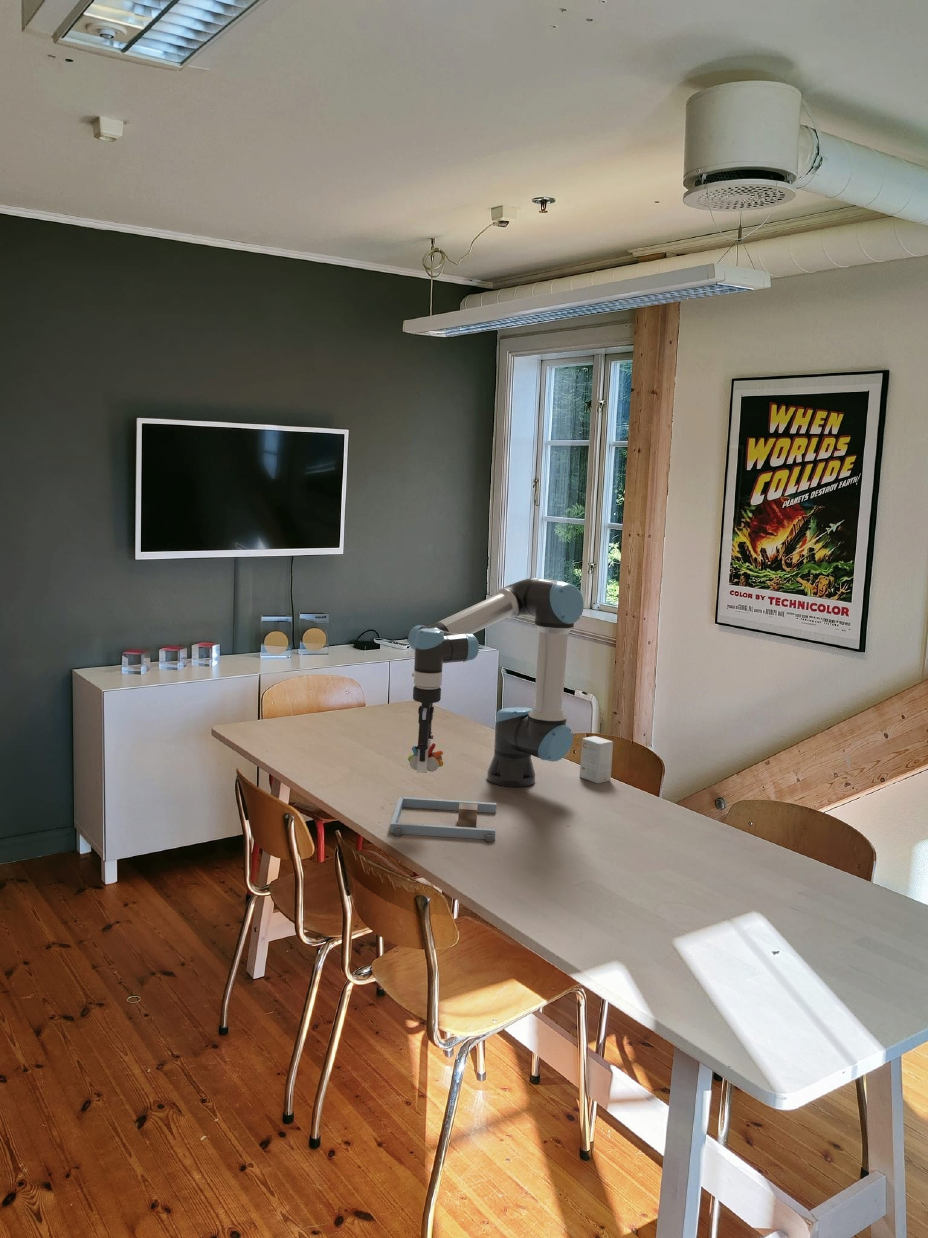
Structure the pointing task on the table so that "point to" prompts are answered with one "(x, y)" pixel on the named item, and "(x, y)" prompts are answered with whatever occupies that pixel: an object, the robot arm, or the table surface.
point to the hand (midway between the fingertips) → (423, 767)
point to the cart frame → (436, 829)
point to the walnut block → (467, 815)
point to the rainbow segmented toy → (433, 759)
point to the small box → (596, 759)
